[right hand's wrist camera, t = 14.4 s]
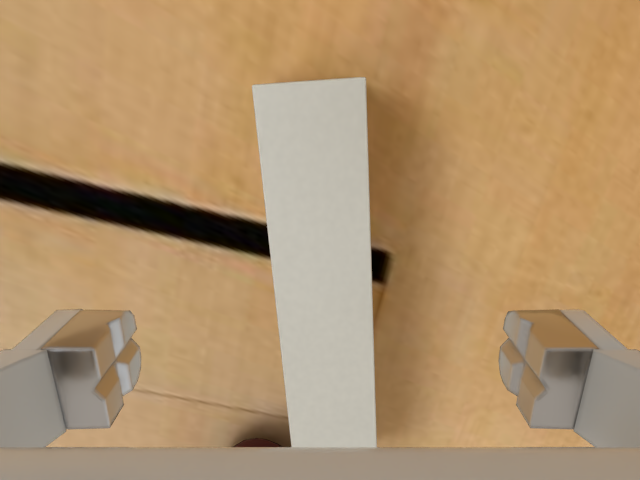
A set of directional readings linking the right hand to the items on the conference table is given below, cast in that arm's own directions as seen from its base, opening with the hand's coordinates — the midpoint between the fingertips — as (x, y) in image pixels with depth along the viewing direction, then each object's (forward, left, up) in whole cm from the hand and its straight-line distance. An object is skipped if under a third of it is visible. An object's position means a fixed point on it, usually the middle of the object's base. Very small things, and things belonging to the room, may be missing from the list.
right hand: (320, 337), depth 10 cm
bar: (+8, -2, -20) cm, 22 cm away
